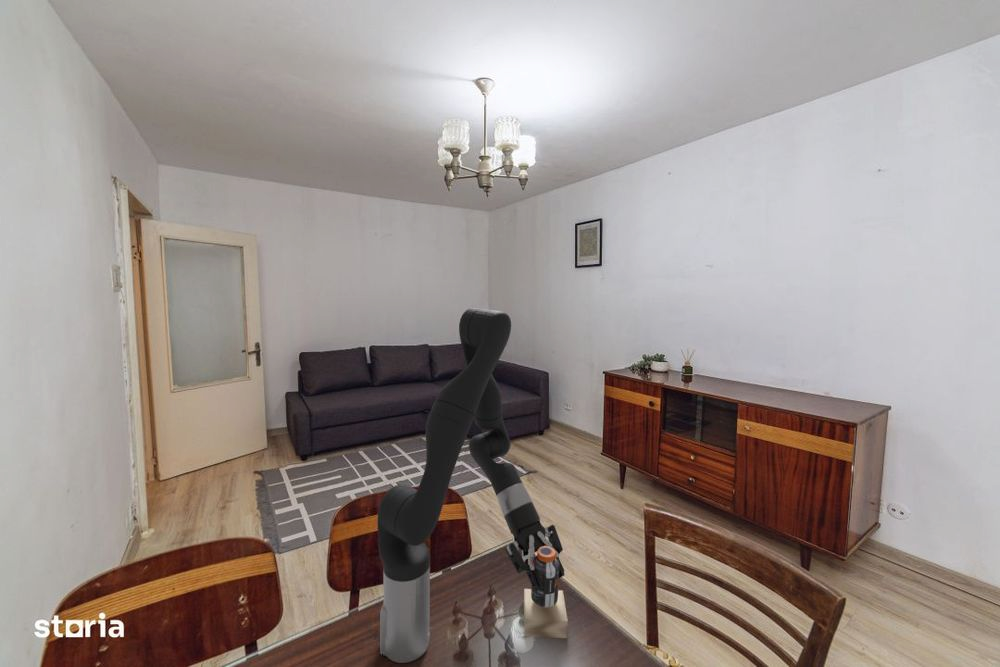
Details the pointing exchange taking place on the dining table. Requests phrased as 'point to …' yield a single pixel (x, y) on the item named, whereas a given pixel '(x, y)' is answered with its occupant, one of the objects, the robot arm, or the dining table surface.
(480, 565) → the dining table surface
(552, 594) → the pill bottle
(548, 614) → the maple block
